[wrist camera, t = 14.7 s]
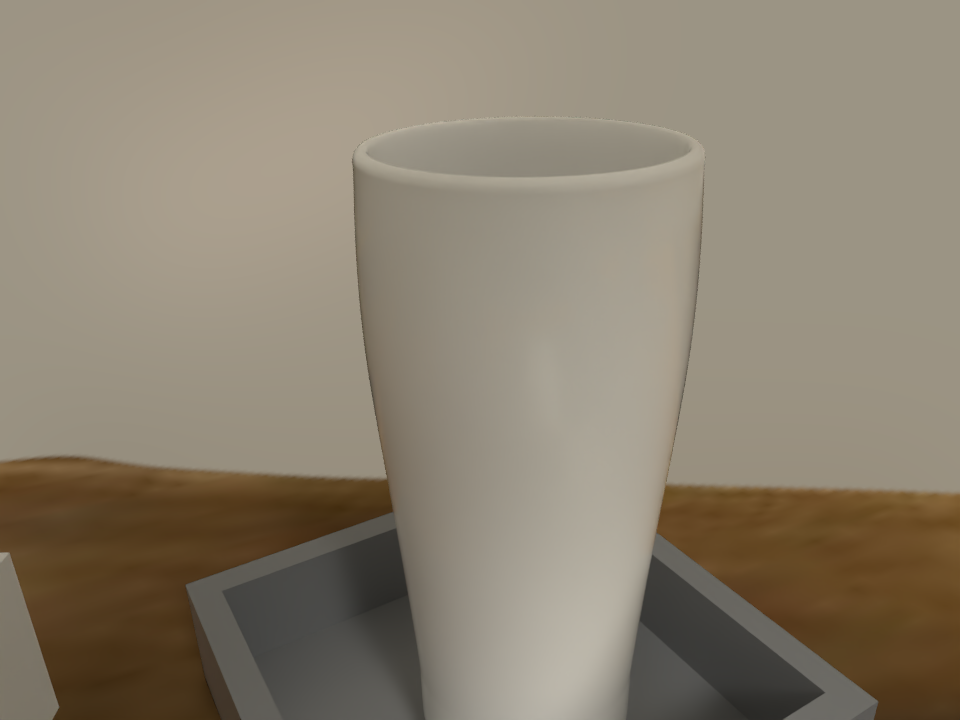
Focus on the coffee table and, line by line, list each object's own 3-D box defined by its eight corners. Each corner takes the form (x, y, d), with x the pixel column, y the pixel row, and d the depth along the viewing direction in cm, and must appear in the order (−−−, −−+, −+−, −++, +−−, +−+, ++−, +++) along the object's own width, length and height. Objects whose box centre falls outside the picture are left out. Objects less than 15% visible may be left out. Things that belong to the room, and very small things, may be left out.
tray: (851, 804, 20) (878, 701, 19) (388, 1148, 14) (373, 1038, 13) (552, 536, 30) (554, 455, 29) (205, 677, 24) (185, 584, 23)
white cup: (355, 684, 23) (293, 135, 17) (553, 596, 26) (564, 105, 20) (481, 892, 18) (461, 203, 11) (710, 750, 21) (793, 147, 15)
